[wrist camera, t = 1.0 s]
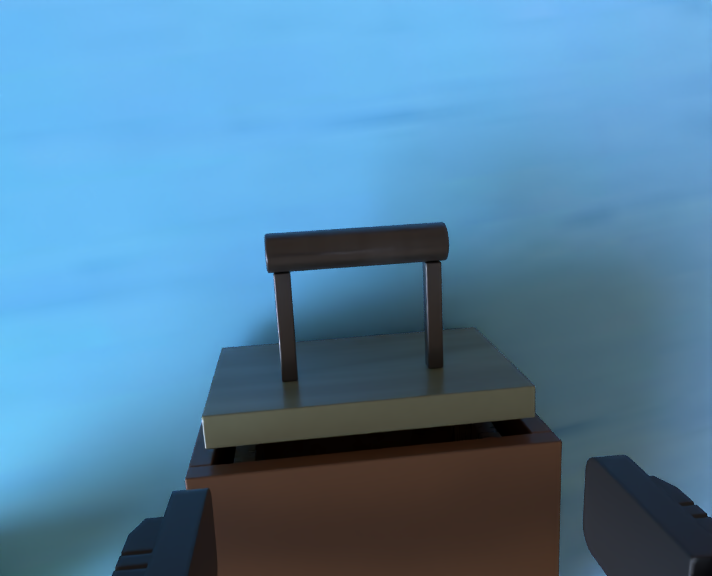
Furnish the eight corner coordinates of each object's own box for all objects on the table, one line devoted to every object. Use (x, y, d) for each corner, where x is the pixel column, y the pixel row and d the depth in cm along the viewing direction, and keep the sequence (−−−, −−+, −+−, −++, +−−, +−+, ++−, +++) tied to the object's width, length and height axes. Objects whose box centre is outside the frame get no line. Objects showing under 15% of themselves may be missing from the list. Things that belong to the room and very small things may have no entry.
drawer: (208, 222, 27) (182, 251, 20) (474, 205, 28) (538, 227, 21) (250, 629, 32) (241, 770, 25) (477, 601, 33) (531, 728, 26)
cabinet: (213, 377, 30) (184, 479, 21) (482, 354, 31) (562, 440, 22) (244, 664, 33) (230, 854, 24) (484, 633, 34) (554, 804, 25)
